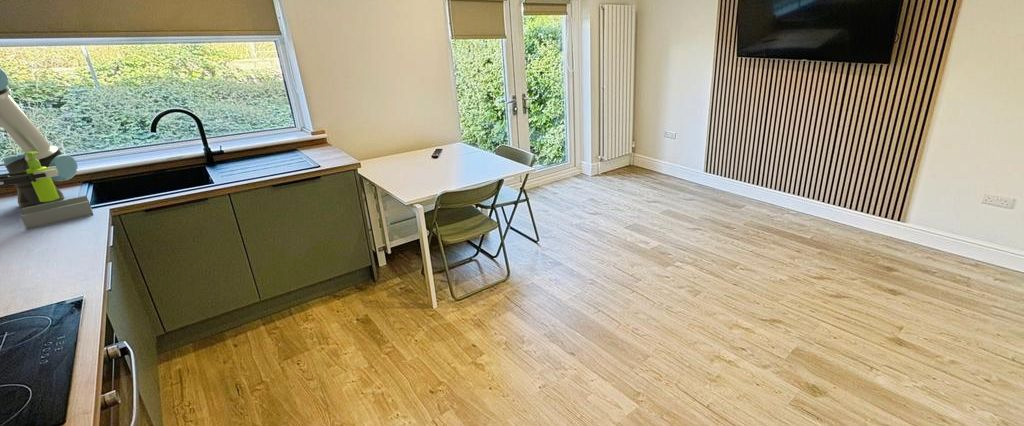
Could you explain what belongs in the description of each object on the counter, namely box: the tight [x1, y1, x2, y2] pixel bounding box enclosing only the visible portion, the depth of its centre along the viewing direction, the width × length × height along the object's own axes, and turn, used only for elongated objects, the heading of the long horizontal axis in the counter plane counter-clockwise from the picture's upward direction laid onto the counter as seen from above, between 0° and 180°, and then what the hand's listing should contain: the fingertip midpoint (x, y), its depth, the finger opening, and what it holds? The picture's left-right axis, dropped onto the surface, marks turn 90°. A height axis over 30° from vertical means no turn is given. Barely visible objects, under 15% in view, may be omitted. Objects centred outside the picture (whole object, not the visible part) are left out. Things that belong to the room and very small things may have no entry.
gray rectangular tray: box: [20, 195, 94, 231], centre depth 188 cm, size 12×20×6 cm, turn 134°
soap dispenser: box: [23, 151, 60, 202], centre depth 181 cm, size 6×7×20 cm
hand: (56, 170), depth 184 cm, fingers closed on soap dispenser, 6 cm apart
